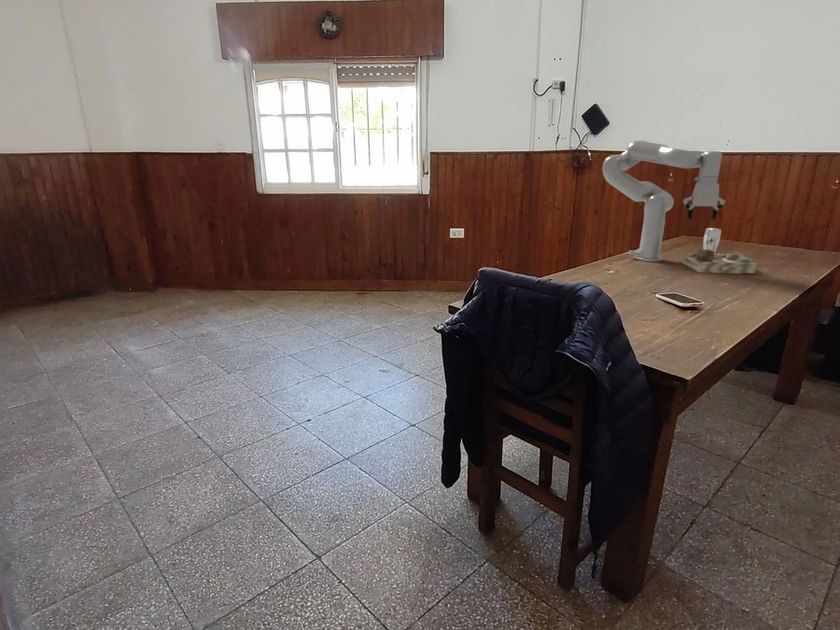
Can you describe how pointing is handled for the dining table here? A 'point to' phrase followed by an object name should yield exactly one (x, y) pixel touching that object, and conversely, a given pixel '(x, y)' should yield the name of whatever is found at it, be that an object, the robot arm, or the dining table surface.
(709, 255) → the walnut block
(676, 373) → the dining table surface
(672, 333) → the dining table surface
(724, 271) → the tray
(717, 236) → the beer glass
